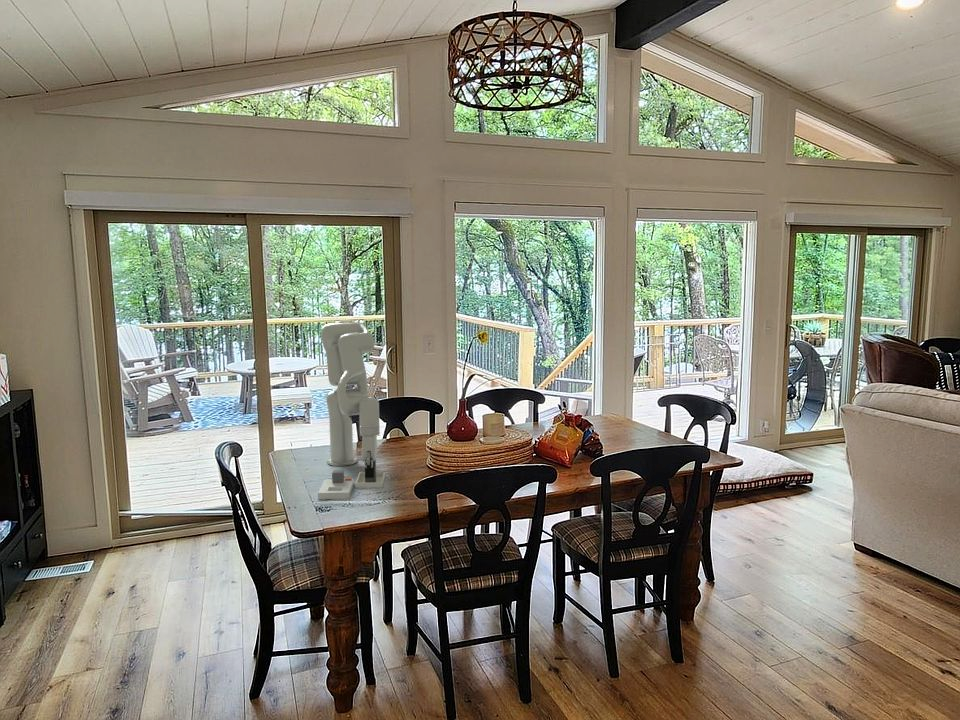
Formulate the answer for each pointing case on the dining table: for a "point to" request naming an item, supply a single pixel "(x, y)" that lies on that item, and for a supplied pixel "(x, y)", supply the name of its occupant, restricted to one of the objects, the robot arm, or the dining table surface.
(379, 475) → the tray
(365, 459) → the plug
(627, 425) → the dining table surface
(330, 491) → the socket strip
